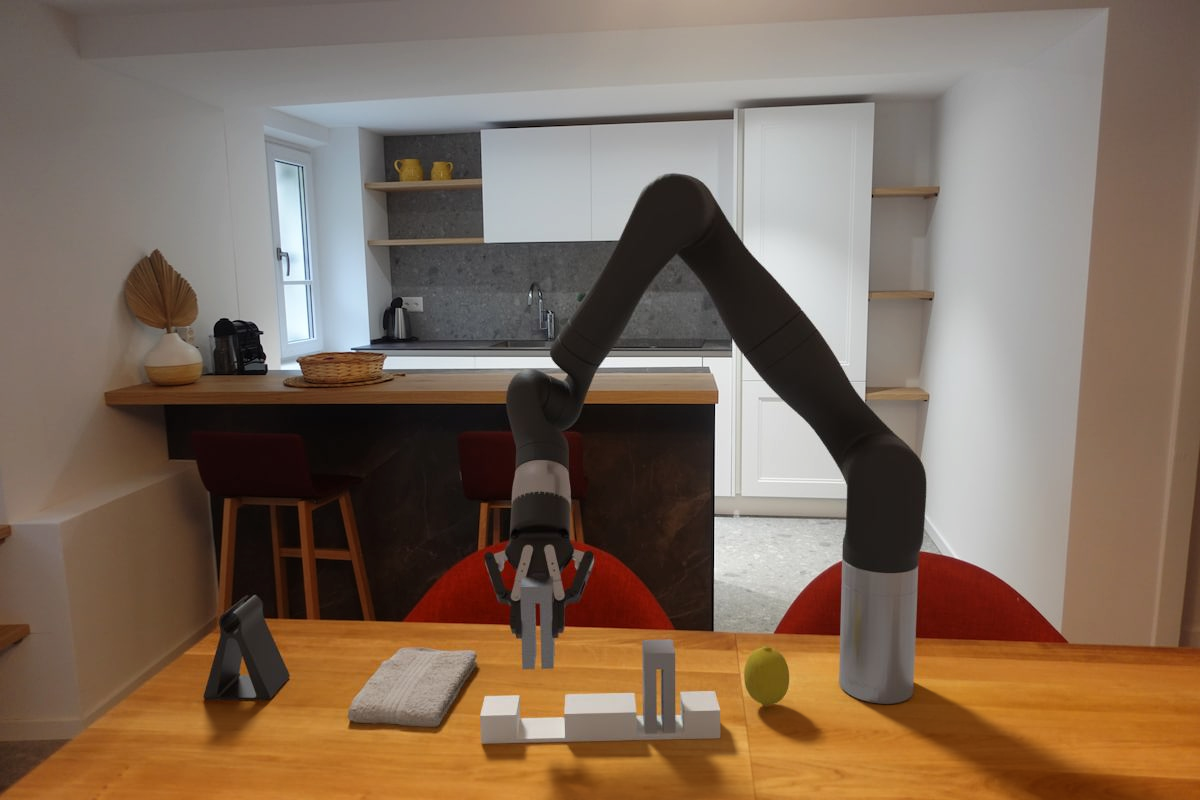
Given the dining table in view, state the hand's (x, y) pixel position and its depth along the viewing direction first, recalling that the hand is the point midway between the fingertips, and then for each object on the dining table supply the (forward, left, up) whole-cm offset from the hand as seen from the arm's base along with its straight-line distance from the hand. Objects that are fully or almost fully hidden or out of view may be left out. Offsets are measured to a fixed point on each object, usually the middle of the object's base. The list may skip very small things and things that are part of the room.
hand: (537, 635), depth 93 cm
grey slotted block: (-2, -1, -4) cm, 5 cm away
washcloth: (+1, -21, -14) cm, 25 cm away
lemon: (-23, +17, -13) cm, 32 cm away
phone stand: (+15, -40, -13) cm, 45 cm away
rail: (-6, +4, -13) cm, 15 cm away
